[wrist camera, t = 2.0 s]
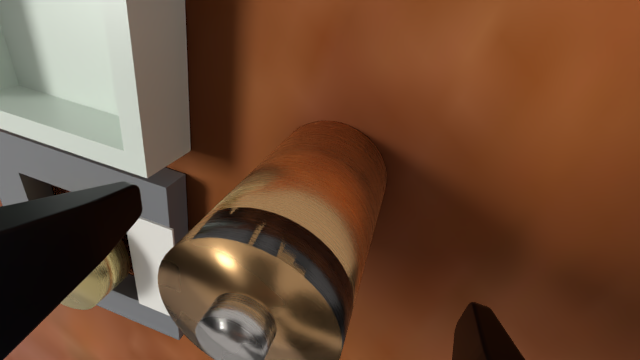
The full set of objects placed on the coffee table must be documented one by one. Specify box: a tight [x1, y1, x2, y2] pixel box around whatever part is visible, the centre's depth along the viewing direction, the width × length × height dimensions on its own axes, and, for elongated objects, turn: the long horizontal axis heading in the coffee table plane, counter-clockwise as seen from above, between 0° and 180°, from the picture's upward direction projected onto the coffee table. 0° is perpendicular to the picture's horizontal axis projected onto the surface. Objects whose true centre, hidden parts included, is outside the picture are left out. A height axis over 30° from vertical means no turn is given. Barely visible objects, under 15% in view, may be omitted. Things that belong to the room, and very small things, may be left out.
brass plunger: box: [61, 239, 131, 310], centre depth 16 cm, size 5×5×2 cm
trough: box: [0, 0, 191, 178], centre depth 11 cm, size 9×9×2 cm
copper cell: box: [158, 121, 387, 360], centre depth 9 cm, size 4×4×7 cm
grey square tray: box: [0, 129, 188, 340], centre depth 17 cm, size 10×10×1 cm
